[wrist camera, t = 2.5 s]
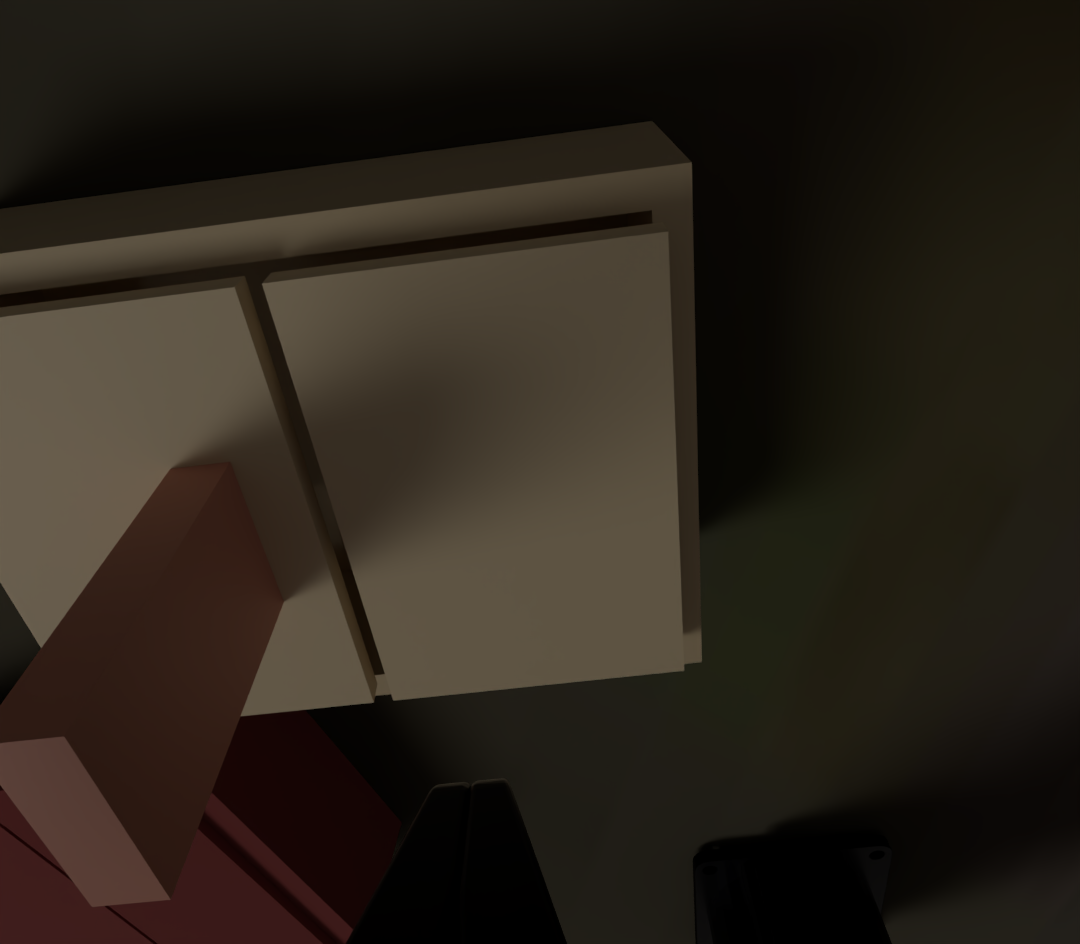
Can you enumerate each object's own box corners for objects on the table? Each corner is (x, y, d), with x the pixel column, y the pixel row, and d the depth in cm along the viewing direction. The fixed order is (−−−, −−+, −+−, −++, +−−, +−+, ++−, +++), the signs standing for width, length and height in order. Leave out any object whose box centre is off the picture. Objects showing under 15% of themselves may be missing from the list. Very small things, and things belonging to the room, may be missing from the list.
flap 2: (679, 652, 16) (684, 670, 16) (396, 682, 16) (393, 700, 16) (662, 221, 11) (668, 230, 11) (271, 272, 12) (262, 283, 11)
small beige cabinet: (670, 546, 20) (702, 661, 17) (170, 601, 21) (101, 724, 17) (652, 120, 15) (691, 162, 11) (-18, 211, 15) (-171, 275, 12)
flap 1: (377, 683, 16) (312, 1004, 11) (103, 712, 17) (-83, 1038, 11) (245, 275, 12) (33, 501, 7) (-129, 324, 12) (-607, 576, 7)
